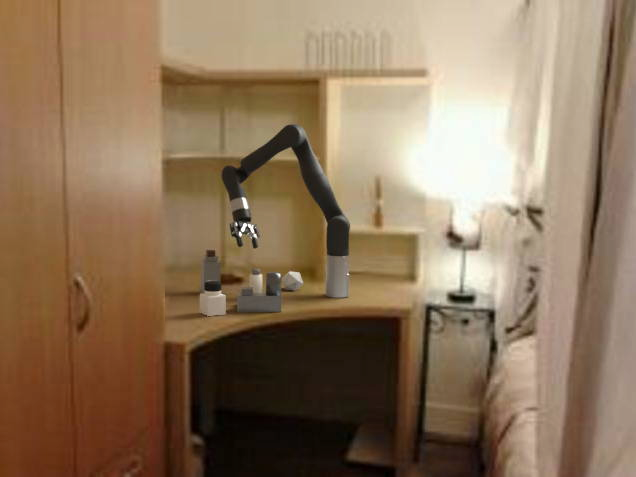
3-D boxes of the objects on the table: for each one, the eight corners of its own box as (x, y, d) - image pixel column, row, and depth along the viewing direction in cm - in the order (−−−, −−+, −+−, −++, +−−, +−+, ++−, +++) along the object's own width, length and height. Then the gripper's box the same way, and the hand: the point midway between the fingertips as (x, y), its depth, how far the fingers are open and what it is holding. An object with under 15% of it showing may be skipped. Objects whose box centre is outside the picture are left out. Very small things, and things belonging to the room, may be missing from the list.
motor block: (277, 304, 253) (278, 268, 251) (281, 311, 240) (282, 274, 238) (236, 304, 250) (236, 268, 249) (237, 312, 238) (238, 274, 236)
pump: (261, 297, 264) (262, 268, 263) (262, 300, 259) (263, 270, 258) (248, 297, 263) (249, 268, 262) (249, 300, 258) (249, 270, 257)
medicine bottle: (226, 314, 233) (226, 281, 232) (207, 317, 229) (208, 283, 228) (217, 310, 239) (217, 278, 238) (199, 313, 235) (199, 280, 234)
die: (287, 294, 276) (301, 276, 275) (274, 281, 280) (288, 264, 280) (296, 297, 283) (310, 280, 282) (283, 285, 287) (297, 268, 287)
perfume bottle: (200, 292, 271) (200, 249, 269) (216, 291, 274) (216, 249, 272) (203, 295, 265) (204, 251, 263) (220, 294, 267) (220, 251, 265)
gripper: (234, 205, 264) (242, 242, 259) (258, 209, 275) (266, 245, 270) (221, 212, 268) (229, 249, 263) (246, 216, 279) (254, 251, 274)
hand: (248, 247), depth 267 cm, fingers open, 8 cm apart
